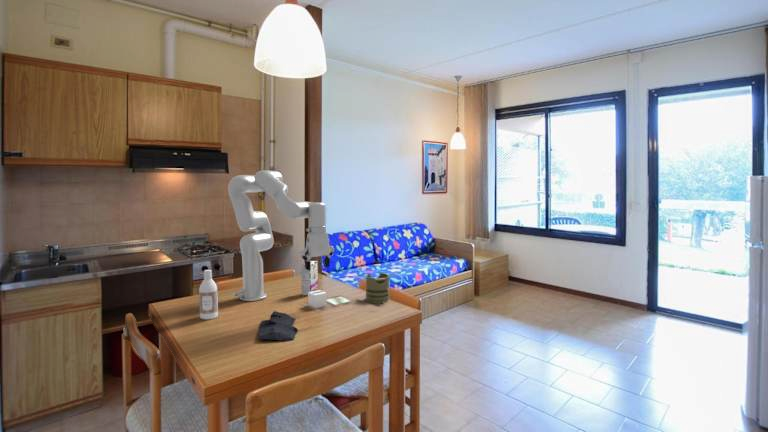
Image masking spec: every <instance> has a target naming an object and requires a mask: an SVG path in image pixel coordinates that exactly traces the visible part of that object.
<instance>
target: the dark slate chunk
mask: <svg viewBox="0 0 768 432" xmlns="http://www.w3.org/2000/svg"><path fill="white" fill-rule="evenodd" d="M295 322H296V318H295V317H292V316H291V315H290V314H288V313H284V312H279V311H276V310H274V311H272V313H271V314H270V317H269V319H263V320H261V322H260V325H259V330H258V335H257V336H258V338H259V340H261V341H266V340H268V341H269V340H270V341H272V340H273V341H283V342H285V341H286V342H288V341H294V340H295V338H296V336H297V333H298V328H297V327H296V326H294V325H295Z"/></svg>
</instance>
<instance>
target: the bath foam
mask: <svg viewBox="0 0 768 432" xmlns="http://www.w3.org/2000/svg"><path fill="white" fill-rule="evenodd" d="M212 275H213V274H212V269H204V270H203V280H202V282H201V283H200V285H199V289H198V295H199V296H198V297H199V298H198V301H199V318H200V319H201V320H206V321H207V320H213V319H215V318H217V317H218V316H219V305H218V303H219V300H218V296H219V295H218V286H217V285H218V284H216V282H215V281H214V280H213V276H212Z"/></svg>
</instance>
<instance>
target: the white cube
mask: <svg viewBox="0 0 768 432" xmlns="http://www.w3.org/2000/svg"><path fill="white" fill-rule="evenodd" d="M307 297H308V298H307V301H308V305H309V306H311V307H313V308H315V309H316V308H320V307H324V306H327V298H328V294H327V292H326V291H324V290H321V289H318V290H317V291H312V292H308V295H307Z"/></svg>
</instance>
